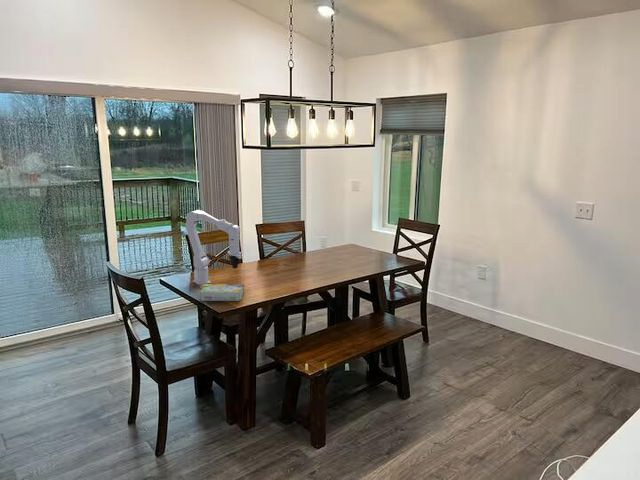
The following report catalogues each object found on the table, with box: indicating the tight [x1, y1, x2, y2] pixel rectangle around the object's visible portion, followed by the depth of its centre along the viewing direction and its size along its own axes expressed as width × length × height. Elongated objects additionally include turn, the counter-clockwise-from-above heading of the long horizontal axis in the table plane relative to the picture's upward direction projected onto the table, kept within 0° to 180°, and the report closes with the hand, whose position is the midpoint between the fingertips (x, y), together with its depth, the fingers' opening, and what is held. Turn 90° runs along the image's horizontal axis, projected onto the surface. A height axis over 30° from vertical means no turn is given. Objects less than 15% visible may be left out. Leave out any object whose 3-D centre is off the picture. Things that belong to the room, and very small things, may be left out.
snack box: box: [199, 283, 245, 302], centre depth 254 cm, size 21×6×15 cm
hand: (234, 268), depth 274 cm, fingers closed
